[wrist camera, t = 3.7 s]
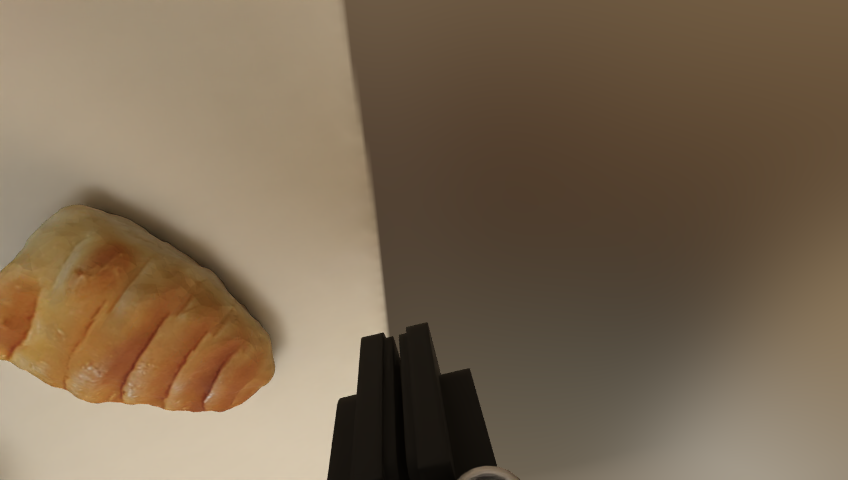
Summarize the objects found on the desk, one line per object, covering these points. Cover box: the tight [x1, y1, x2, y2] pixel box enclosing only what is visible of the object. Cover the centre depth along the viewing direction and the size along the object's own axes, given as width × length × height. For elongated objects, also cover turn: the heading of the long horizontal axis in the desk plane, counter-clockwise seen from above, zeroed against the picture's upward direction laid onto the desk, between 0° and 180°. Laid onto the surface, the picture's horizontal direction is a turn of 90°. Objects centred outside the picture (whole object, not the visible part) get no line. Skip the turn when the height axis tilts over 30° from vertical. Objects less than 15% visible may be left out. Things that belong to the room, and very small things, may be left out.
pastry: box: [0, 204, 275, 412], centre depth 16 cm, size 9×7×4 cm
